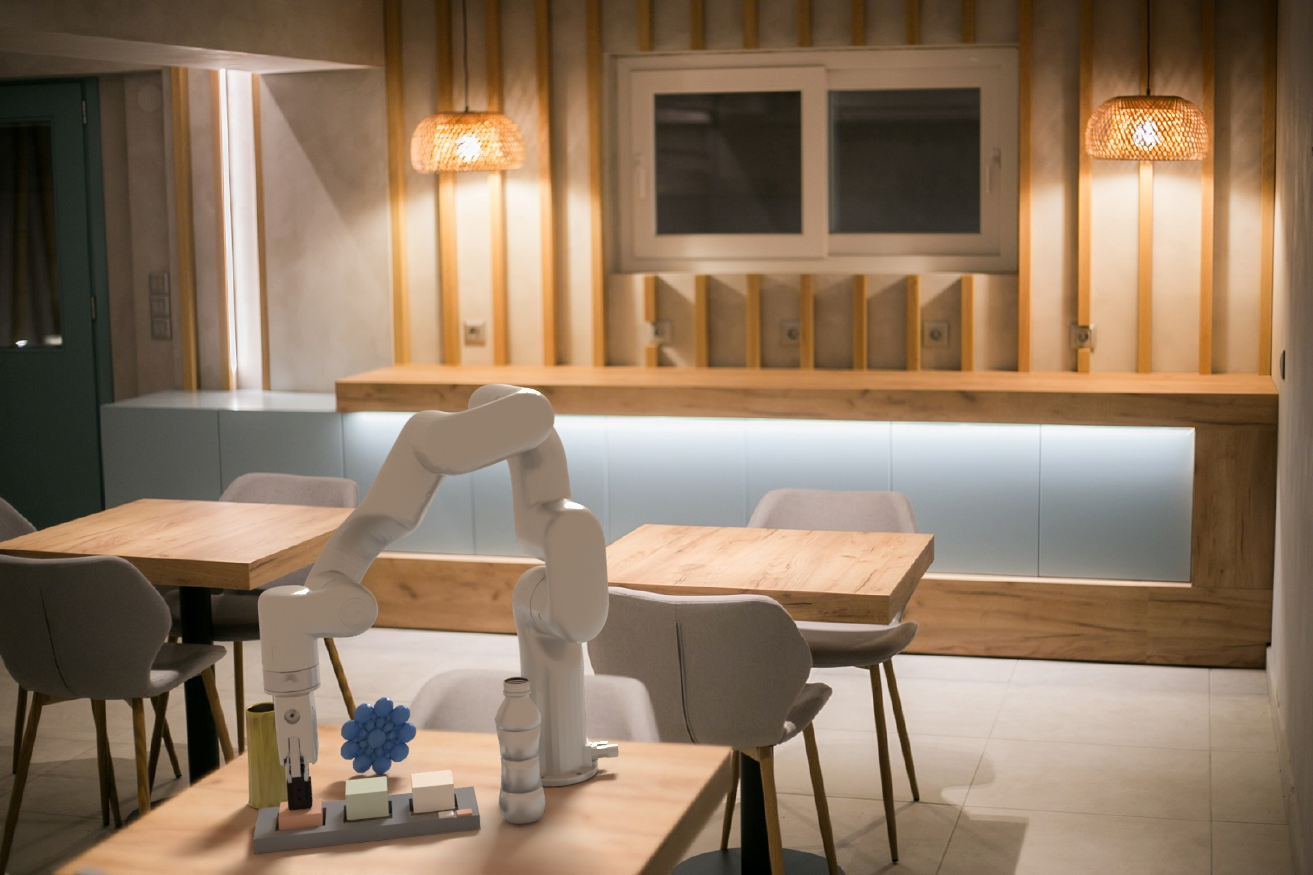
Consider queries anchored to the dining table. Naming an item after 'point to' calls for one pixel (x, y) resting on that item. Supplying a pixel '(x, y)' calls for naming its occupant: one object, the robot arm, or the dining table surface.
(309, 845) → the keypad board
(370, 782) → the key sage
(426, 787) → the key ivory
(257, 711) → the vase
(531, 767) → the plastic bottle
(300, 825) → the key terracotta
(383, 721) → the blue flower rosette
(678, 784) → the dining table surface
